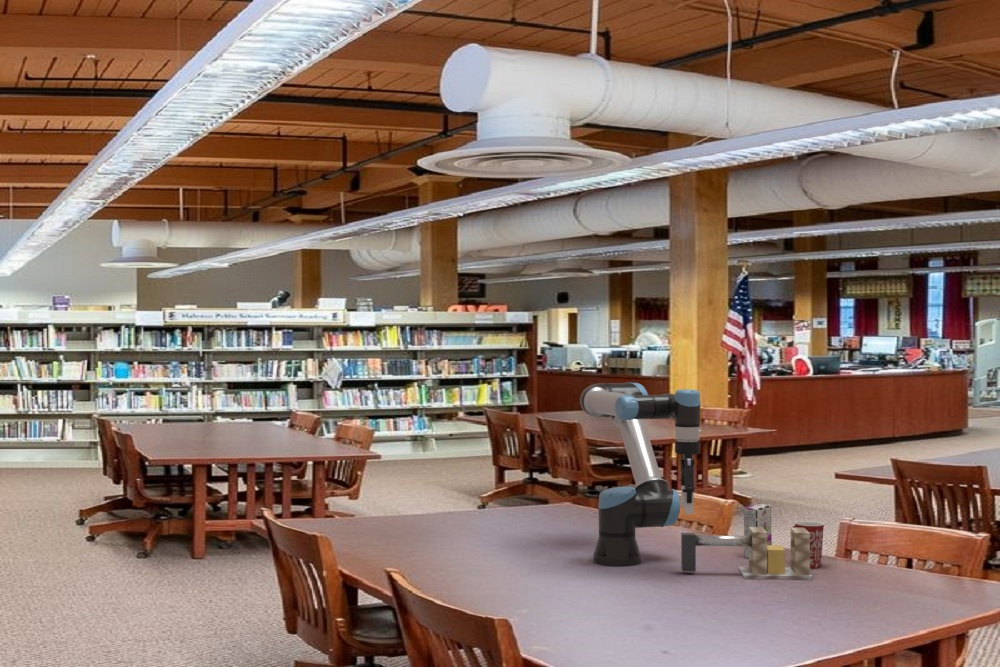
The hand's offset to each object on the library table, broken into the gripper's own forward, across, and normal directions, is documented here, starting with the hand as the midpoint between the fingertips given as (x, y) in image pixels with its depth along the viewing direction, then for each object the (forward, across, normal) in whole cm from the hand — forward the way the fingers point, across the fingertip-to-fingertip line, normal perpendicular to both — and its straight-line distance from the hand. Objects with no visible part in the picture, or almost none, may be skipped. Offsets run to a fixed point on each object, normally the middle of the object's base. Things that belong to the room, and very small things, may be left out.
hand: (687, 510), depth 361 cm
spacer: (+18, -1, -26) cm, 32 cm away
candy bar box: (+19, +29, -25) cm, 43 cm away
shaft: (+18, -1, -10) cm, 21 cm away
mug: (+19, +16, -38) cm, 45 cm away
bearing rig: (+19, -1, -25) cm, 31 cm away
